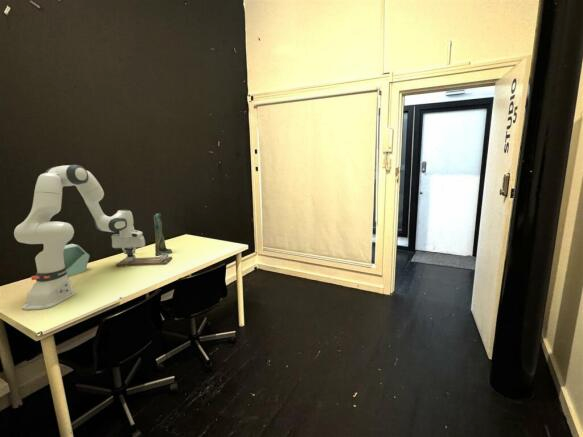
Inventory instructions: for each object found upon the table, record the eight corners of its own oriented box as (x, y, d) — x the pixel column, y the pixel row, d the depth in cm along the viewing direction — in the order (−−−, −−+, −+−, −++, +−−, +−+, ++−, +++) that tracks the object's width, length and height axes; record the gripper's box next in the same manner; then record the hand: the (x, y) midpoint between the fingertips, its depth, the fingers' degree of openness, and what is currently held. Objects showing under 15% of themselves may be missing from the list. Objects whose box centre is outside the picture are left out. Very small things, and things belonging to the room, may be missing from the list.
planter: (73, 282, 185) (46, 260, 172) (67, 279, 189) (40, 258, 176) (95, 260, 195) (71, 239, 182) (89, 258, 199) (65, 237, 186)
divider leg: (130, 262, 199) (129, 250, 197) (124, 262, 199) (122, 251, 197) (135, 258, 206) (134, 247, 205) (129, 259, 206) (128, 247, 204)
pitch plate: (166, 264, 200) (165, 255, 198) (115, 266, 198) (114, 257, 197) (171, 258, 211) (171, 250, 210) (124, 260, 209) (123, 252, 208)
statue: (172, 253, 224) (168, 213, 218) (156, 256, 218) (152, 215, 212) (170, 250, 229) (166, 212, 223) (154, 253, 223) (150, 213, 217)
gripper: (108, 235, 196) (111, 255, 199) (141, 234, 197) (143, 254, 200) (113, 233, 202) (116, 252, 205) (145, 232, 204) (147, 251, 206)
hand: (130, 253), depth 203 cm, fingers closed on divider leg, 4 cm apart
